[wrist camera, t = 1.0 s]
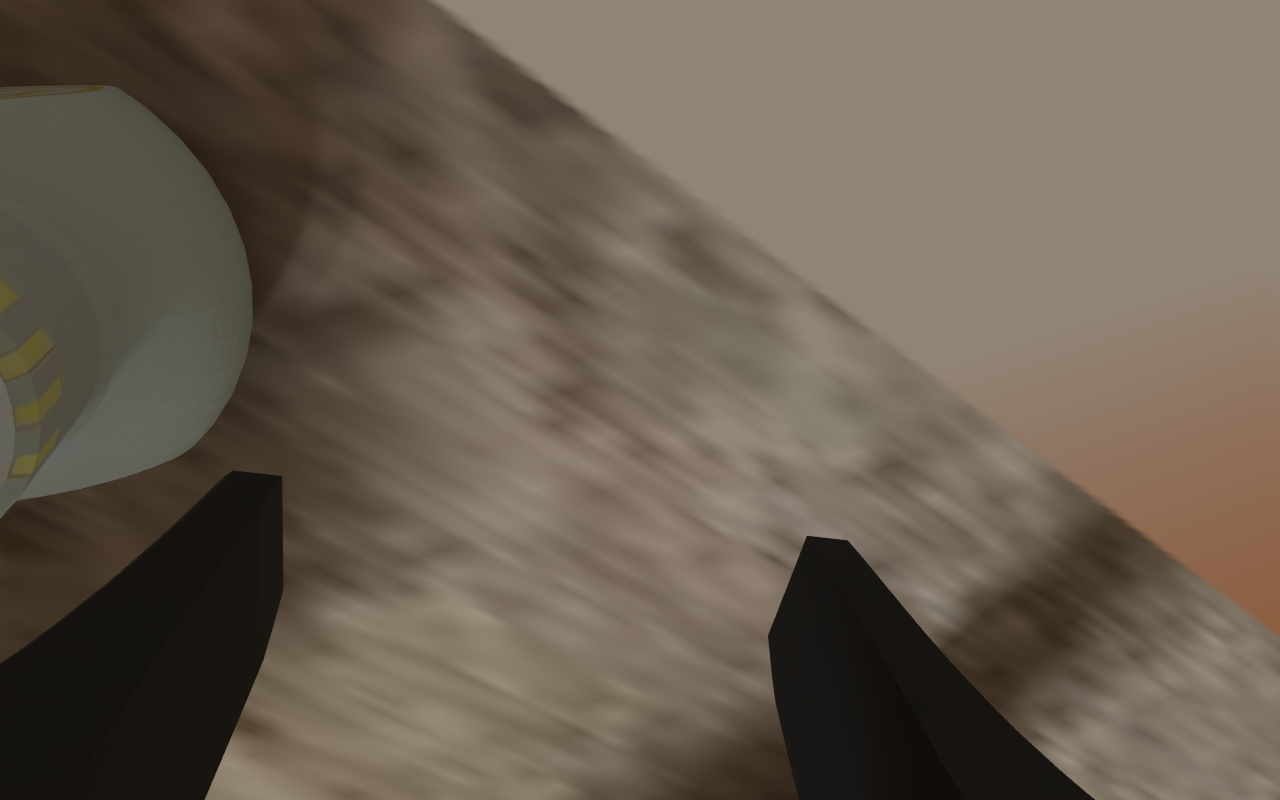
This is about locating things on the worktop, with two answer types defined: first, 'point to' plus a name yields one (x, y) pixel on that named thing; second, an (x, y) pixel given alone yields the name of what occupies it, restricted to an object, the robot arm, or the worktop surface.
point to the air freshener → (109, 291)
